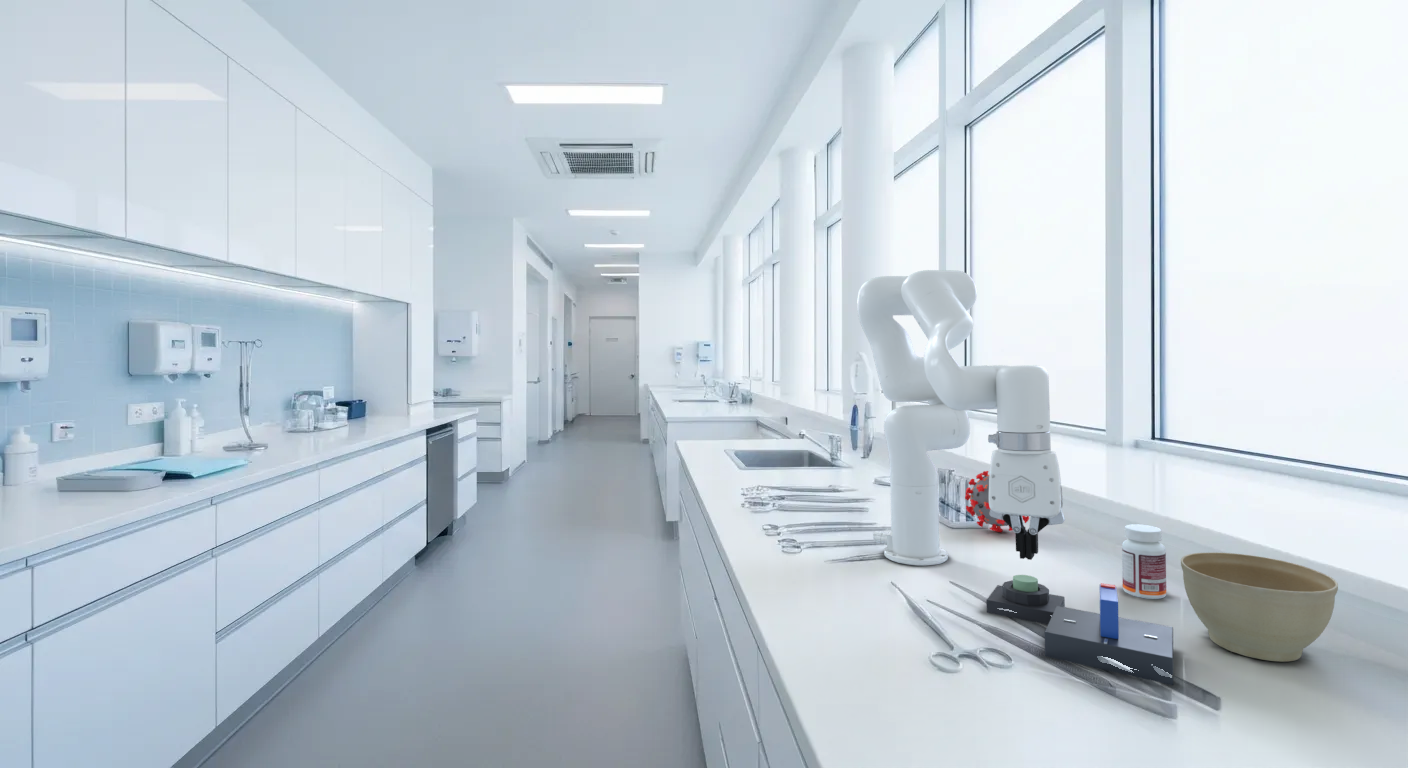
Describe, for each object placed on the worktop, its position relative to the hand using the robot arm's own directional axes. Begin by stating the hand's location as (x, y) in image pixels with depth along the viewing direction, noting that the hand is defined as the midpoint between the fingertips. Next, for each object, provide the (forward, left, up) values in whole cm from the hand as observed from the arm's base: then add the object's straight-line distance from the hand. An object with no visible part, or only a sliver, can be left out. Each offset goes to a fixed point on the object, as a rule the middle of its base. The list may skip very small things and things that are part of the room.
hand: (1027, 556), depth 100 cm
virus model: (-14, +48, -9) cm, 51 cm away
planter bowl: (+28, +3, -9) cm, 29 cm away
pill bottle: (+15, +19, -9) cm, 26 cm away
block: (0, 0, -9) cm, 9 cm away
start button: (0, 0, -5) cm, 5 cm away
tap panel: (+12, -10, -9) cm, 18 cm away
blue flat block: (+12, -10, -6) cm, 16 cm away
